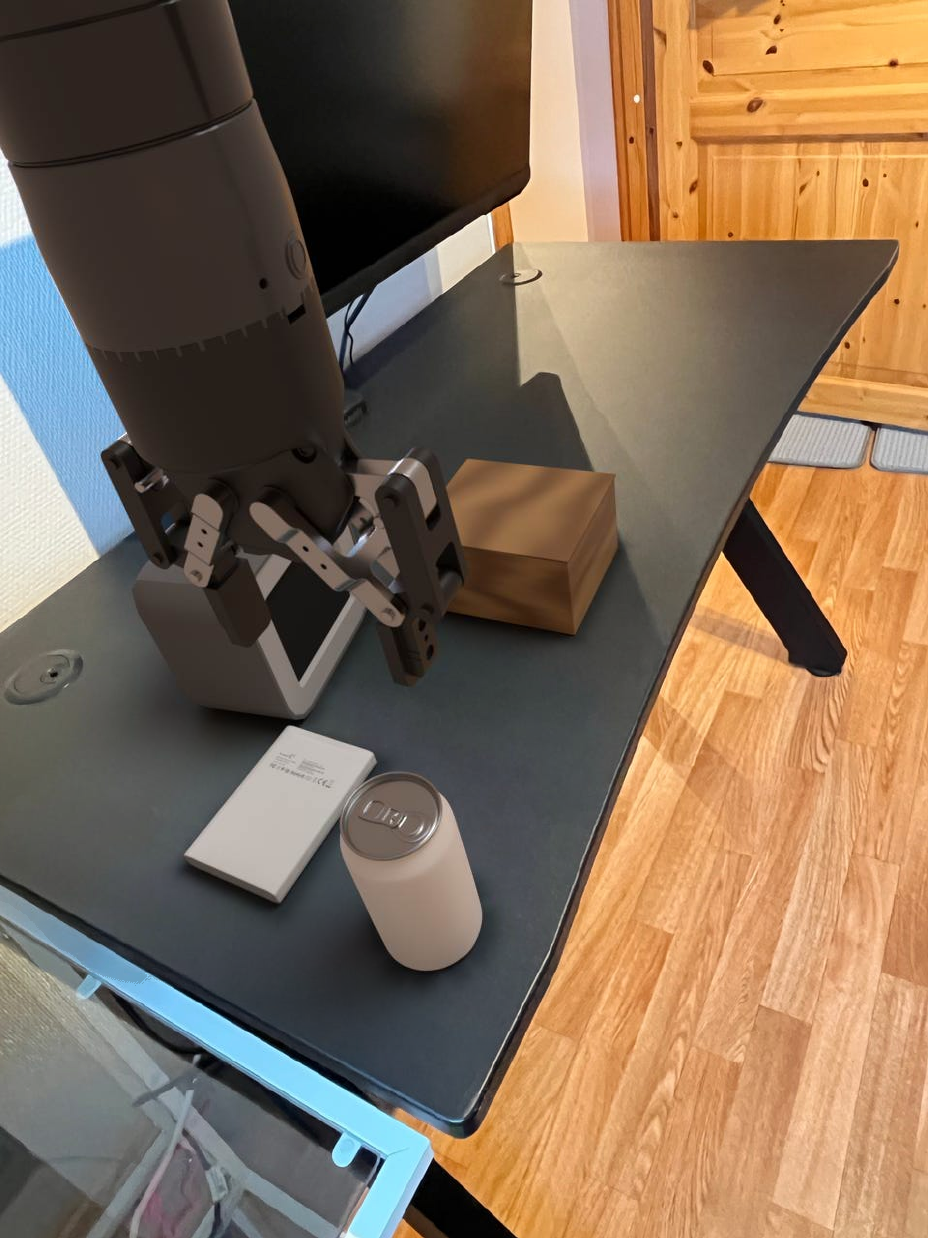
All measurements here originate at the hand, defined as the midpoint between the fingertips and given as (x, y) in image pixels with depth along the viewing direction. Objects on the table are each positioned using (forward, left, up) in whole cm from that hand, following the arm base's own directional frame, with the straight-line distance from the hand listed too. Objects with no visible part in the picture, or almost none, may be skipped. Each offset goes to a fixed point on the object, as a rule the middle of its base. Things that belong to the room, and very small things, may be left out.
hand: (331, 652), depth 37 cm
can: (0, 0, -24) cm, 24 cm away
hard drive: (+14, -4, -24) cm, 28 cm away
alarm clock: (+24, -18, -24) cm, 38 cm away
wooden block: (+7, -33, -24) cm, 41 cm away
